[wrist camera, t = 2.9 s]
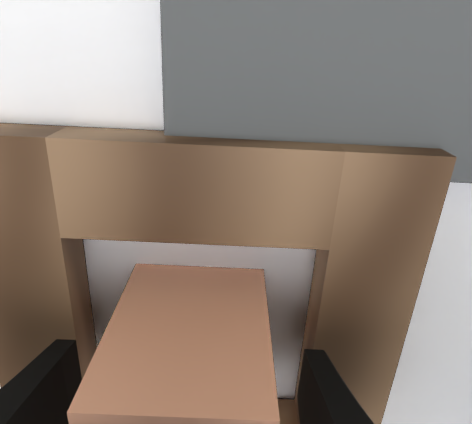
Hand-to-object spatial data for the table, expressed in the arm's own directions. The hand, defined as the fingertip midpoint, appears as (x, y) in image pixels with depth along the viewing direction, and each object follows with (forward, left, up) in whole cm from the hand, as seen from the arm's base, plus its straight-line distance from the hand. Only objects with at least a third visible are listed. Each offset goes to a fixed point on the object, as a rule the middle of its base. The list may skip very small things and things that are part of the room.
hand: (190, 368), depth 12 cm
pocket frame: (0, 0, -2) cm, 2 cm away
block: (0, 0, -2) cm, 2 cm away
